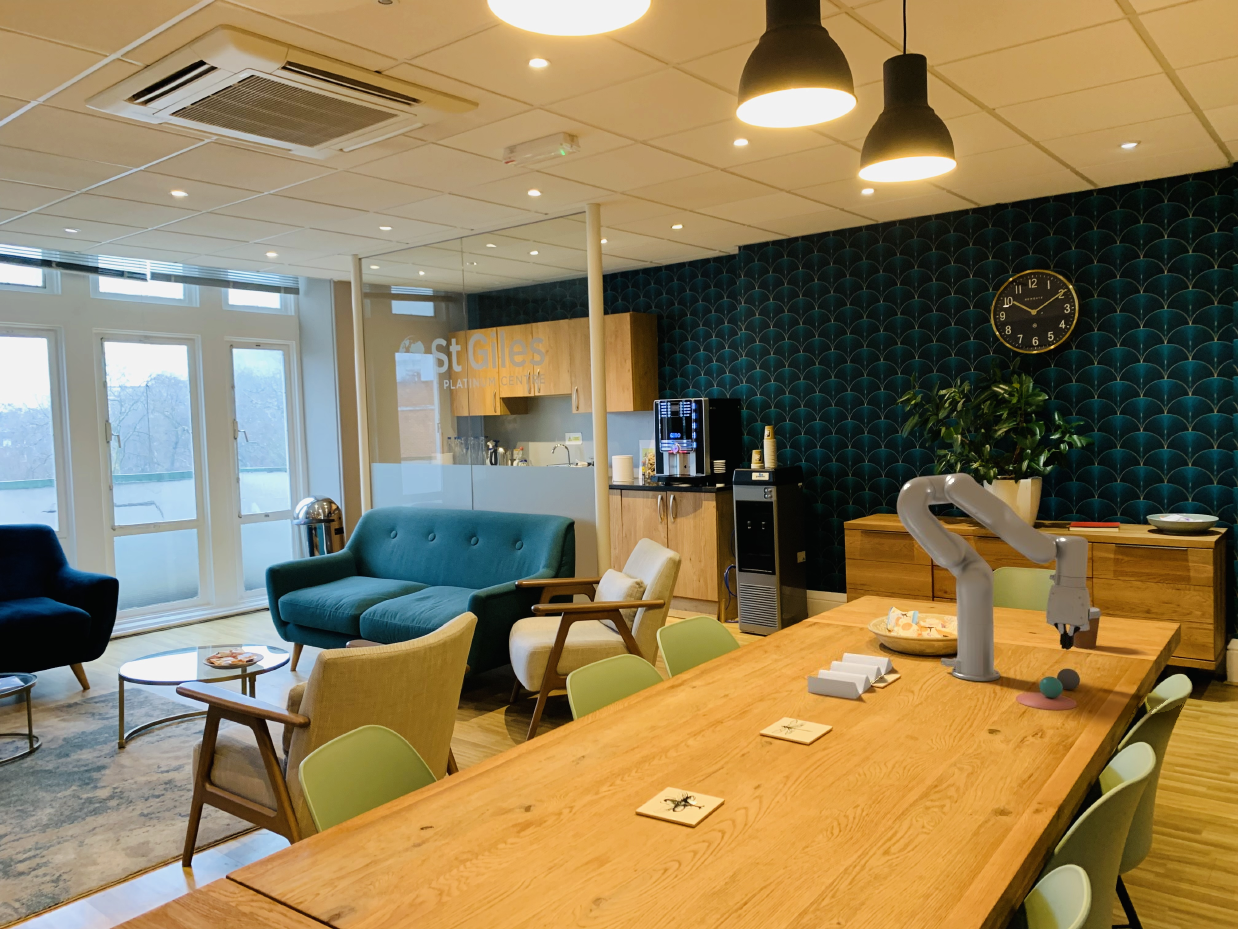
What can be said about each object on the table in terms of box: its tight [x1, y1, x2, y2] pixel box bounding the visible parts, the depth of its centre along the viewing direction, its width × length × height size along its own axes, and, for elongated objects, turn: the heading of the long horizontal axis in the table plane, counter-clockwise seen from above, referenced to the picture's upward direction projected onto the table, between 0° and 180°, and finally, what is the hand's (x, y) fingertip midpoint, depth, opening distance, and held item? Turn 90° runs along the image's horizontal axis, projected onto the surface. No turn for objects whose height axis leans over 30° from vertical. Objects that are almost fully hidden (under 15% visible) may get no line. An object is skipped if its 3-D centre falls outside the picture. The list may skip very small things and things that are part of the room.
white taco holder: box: [807, 652, 894, 700], centre depth 252 cm, size 13×35×5 cm, turn 147°
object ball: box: [1038, 676, 1064, 698], centre depth 230 cm, size 6×6×6 cm
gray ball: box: [1056, 668, 1081, 691], centre depth 237 cm, size 6×6×6 cm
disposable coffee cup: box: [1073, 606, 1102, 650], centre depth 280 cm, size 10×10×12 cm
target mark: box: [1015, 691, 1077, 711], centre depth 228 cm, size 14×14×1 cm
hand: (1066, 648), depth 242 cm, fingers closed
